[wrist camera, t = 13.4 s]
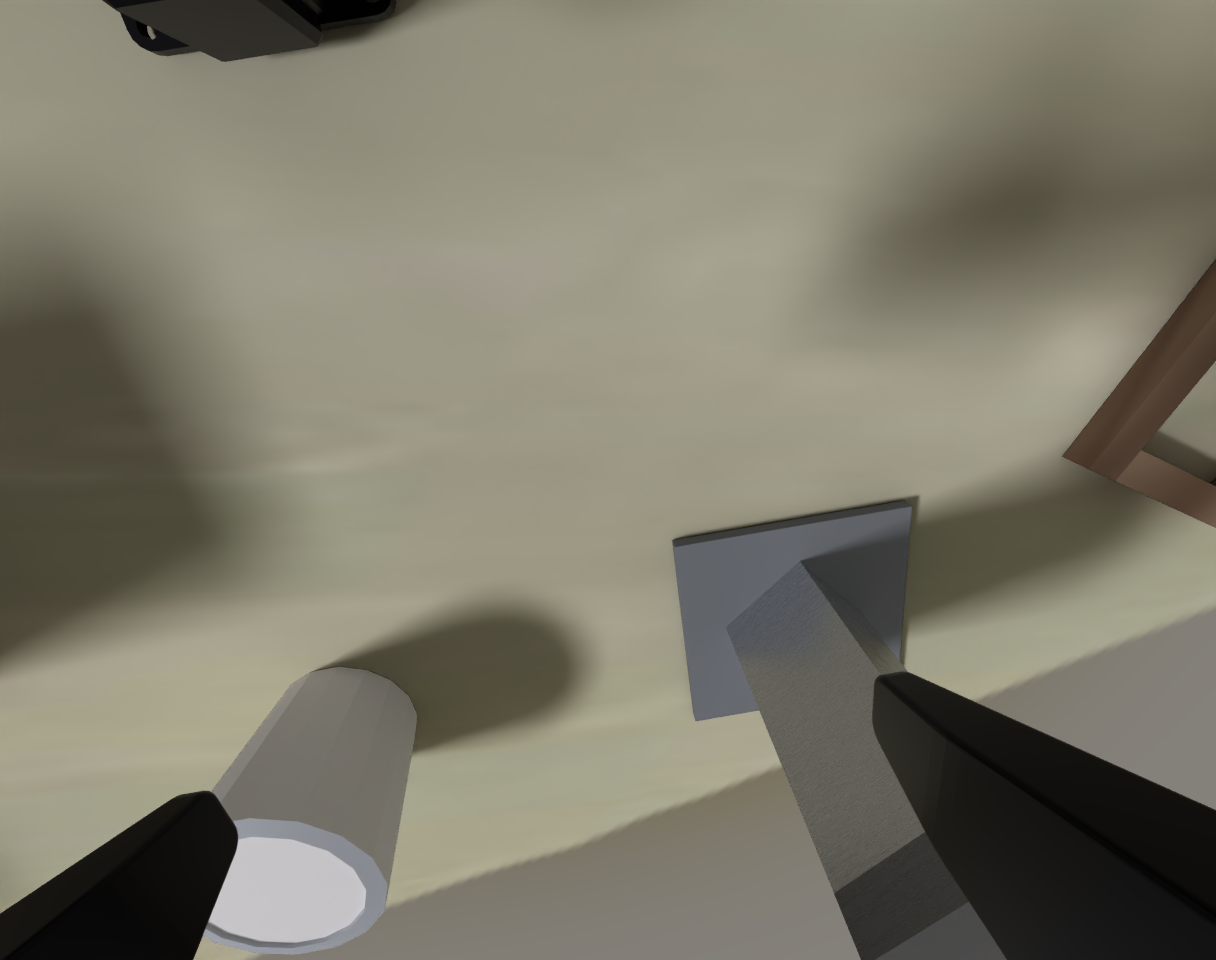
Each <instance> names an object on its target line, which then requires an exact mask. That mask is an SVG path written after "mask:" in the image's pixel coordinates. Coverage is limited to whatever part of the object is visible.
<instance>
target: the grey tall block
mask: <svg viewBox="0 0 1216 960" xmlns="http://www.w3.org/2000/svg"><path fill="white" fill-rule="evenodd" d="M726 630H727V632H728V635H729V637H730V640H731V642H732V644H733V647H734V649H735V652H736V654H737V657H738V659H739V662H740V664H741V666H742V669H743V671H744V674H745V676H746V679H747V681H748V684H749V686H750V689H751V691H752V693H753V696H754V698H755V701H756V703H757V706H758V708H759V711H760V713H761V716H762V718H763V720H764V723H765V725H766V728H767V730H768V733H769V735H770V738H771V740H772V742H773V745H774V747H775V750H776V752H777V755H778V757H779V760H780V762H781V765H782V767H783V769H784V772H785V774H786V777H787V779H788V782H789V784H790V787H791V789H792V792H793V794H794V796H795V799H796V801H797V804H798V806H799V809H800V811H801V813H802V816H803V818H804V821H805V823H806V826H807V828H808V831H809V833H810V836H811V838H812V841H813V843H814V845H815V848H816V850H817V853H818V855H819V857H820V860H821V863H822V865H823V868H824V870H825V872H826V875H827V877H828V880H829V882H830V884H831V887H832V889H833V892H834V894H835V897H836V899H837V902H838V904H839V907H840V909H841V911H842V914H843V917H844V919H845V921H846V924H847V926H848V929H849V931H850V934H851V936H852V938H853V941H854V943H855V946H856V948H857V951H858V953H859V956H860V958H861V960H1007V959H1006V958H1005V956H1004V955H1003V953H1002V952H1001V950H1000V949H999V947H998V946H997V944H996V942H995V941H994V939H993V938H992V936H991V935H990V933H989V932H988V930H987V929H986V927H985V926H984V924H983V923H982V921H981V920H980V918H979V916H978V915H977V913H976V912H975V910H974V909H973V907H972V906H971V904H970V903H969V901H968V900H967V898H966V897H965V895H964V894H963V892H962V890H961V889H960V887H959V886H958V884H957V883H956V881H955V880H954V878H953V877H952V875H951V874H950V872H949V871H948V869H947V868H946V866H945V865H944V863H943V861H942V860H941V858H940V856H939V855H938V853H937V852H936V850H935V848H934V847H933V845H932V843H931V842H930V840H929V838H928V836H927V834H926V833H925V831H924V829H923V827H922V825H921V823H920V821H919V819H918V818H917V816H916V814H915V812H914V810H913V808H912V806H911V804H910V802H909V800H908V798H907V796H906V794H905V793H904V791H903V789H902V787H901V785H900V783H899V781H898V779H897V777H896V775H895V773H894V771H893V769H892V768H891V766H890V764H889V762H888V760H887V758H886V756H885V754H884V752H883V750H882V748H881V746H880V744H879V742H878V740H877V738H876V735H875V733H874V729H873V724H872V708H873V691H874V681H875V679H876V678H877V677H878V676H879V675H883V674H889V673H895V672H901V671H905V672H908V671H907V670H906V669H905V667H904V666H903V665H902V664H901V662H900V661H899V660H898V658H897V657H896V656H895V655H894V653H893V652H892V651H891V649H890V648H889V647H888V645H887V644H886V643H885V642H884V640H883V639H882V638H881V636H880V635H879V634H878V633H877V631H876V630H875V629H874V627H873V626H872V625H871V624H870V622H869V621H868V620H867V618H866V617H865V616H864V615H863V613H862V612H860V611H859V610H858V609H857V608H856V607H854V606H853V605H852V604H851V603H850V602H848V601H847V600H846V599H845V598H843V597H842V596H841V595H840V594H839V593H837V592H836V591H835V590H834V589H833V588H831V587H830V586H829V585H828V584H827V583H825V582H824V581H823V580H822V579H821V578H819V577H818V576H817V575H816V574H815V573H813V572H812V571H811V570H810V569H809V568H807V567H806V566H805V565H804V564H803V563H801V562H800V561H799V562H798V563H797V564H796V565H795V566H794V567H793V568H791V569H790V570H789V571H788V572H787V573H786V574H785V575H784V576H782V577H781V578H780V579H779V580H778V581H777V582H776V583H775V584H773V585H772V586H771V587H770V588H769V589H768V590H767V591H766V592H765V593H763V594H762V595H761V596H760V597H759V598H758V599H757V600H756V601H754V602H753V603H752V604H751V605H750V606H749V607H748V608H747V609H746V610H744V611H743V612H742V613H741V614H740V615H739V616H738V617H737V618H735V619H734V620H733V621H732V622H731V623H730V624H729V625H728V626H726Z"/></svg>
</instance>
